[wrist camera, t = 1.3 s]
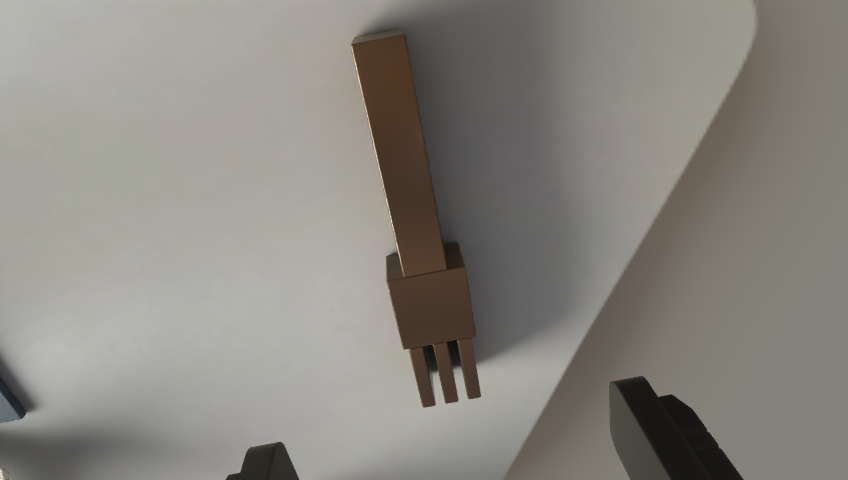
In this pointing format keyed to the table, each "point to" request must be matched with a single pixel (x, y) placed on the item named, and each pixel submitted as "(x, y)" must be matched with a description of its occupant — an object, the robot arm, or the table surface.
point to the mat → (9, 406)
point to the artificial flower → (4, 474)
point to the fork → (415, 222)
